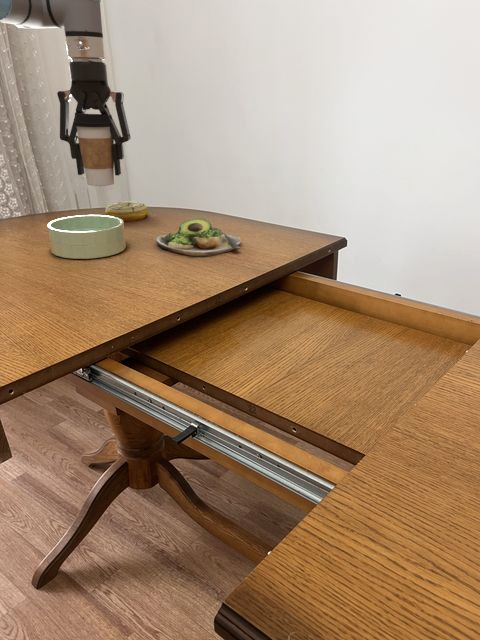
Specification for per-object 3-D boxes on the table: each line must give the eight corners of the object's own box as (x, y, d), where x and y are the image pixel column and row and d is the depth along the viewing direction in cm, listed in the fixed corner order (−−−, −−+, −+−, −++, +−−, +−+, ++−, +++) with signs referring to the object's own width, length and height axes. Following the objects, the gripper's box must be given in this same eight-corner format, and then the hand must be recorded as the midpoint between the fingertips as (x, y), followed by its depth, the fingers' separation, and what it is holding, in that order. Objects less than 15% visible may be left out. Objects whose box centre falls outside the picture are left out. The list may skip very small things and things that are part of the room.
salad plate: (264, 248, 121) (265, 228, 119) (204, 265, 109) (203, 243, 107) (206, 232, 132) (205, 213, 130) (146, 246, 121) (144, 225, 119)
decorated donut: (118, 212, 150) (116, 199, 148) (154, 215, 148) (153, 201, 146) (99, 221, 141) (98, 206, 139) (138, 224, 139) (136, 209, 137)
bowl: (41, 261, 109) (36, 231, 107) (64, 241, 123) (60, 214, 120) (117, 262, 110) (114, 232, 107) (131, 242, 124) (129, 215, 121)
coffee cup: (74, 183, 125) (65, 112, 118) (107, 179, 130) (100, 111, 124) (93, 188, 119) (84, 114, 113) (126, 184, 125) (120, 113, 118)
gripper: (31, 59, 110) (48, 176, 120) (133, 61, 111) (142, 177, 121) (43, 60, 117) (59, 171, 127) (139, 62, 117) (147, 172, 128)
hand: (99, 174), depth 124 cm, fingers closed on coffee cup, 8 cm apart
